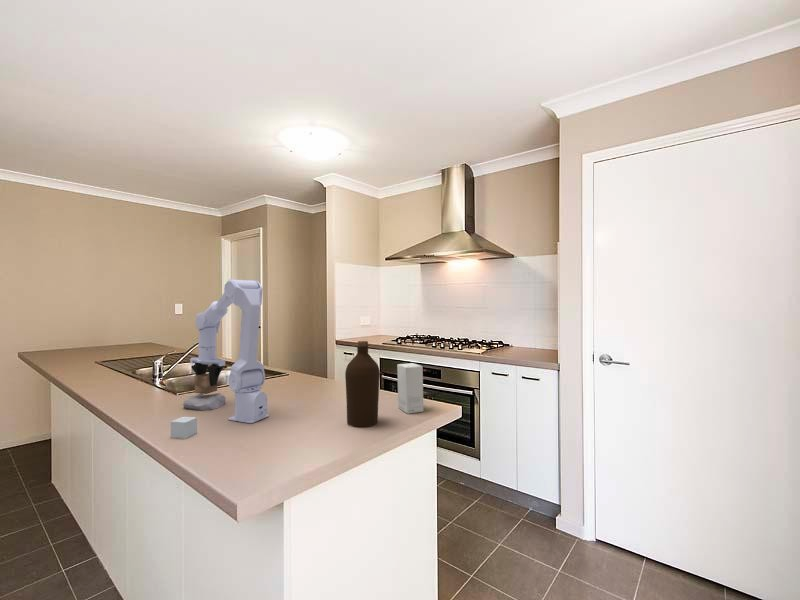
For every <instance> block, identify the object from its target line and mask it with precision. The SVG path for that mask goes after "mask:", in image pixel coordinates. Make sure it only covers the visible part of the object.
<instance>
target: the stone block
mask: <svg viewBox="0 0 800 600" xmlns="http://www.w3.org/2000/svg"><path fill="white" fill-rule="evenodd" d="M225 404H226V397H225V394H224V393H220V392H218V393H210V394H199V393H197V394H196V395H191V396H189V397H187V398H186V399H184V401H183V408H184V409H189V410H195V411H212V410H215V409H218V408H221V407H222V406H223V405H225Z"/></svg>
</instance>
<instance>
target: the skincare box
mask: <svg viewBox="0 0 800 600" xmlns="http://www.w3.org/2000/svg"><path fill="white" fill-rule="evenodd" d="M396 365H397V367H396V369H397V399H398V400H397V407H398V409H399V410H401V411H403V412H404V413H405V414H407V415H409V414H416V413H424V375H423V374H424V373H423V372H424V369H423V367H424V366H423V365H420V364H417V363H414V362H410V363H399V364H396Z"/></svg>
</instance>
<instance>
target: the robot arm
mask: <svg viewBox="0 0 800 600" xmlns="http://www.w3.org/2000/svg"><path fill="white" fill-rule="evenodd" d="M223 290H224V291H223V293H222V295H221V296H220V298H219V299H218V300H215V301H212V302H211V304H210V305H209V307H207V308H206V309H205V311H204V312H198V313H197V314H196V316H195V320H194V321H195V327H196V329H197V330H198V357H191V358H189V361H190V364H192V365H191V369H192V371H193V372H194V376H197V375H201V374H205V373H209V377H210V386H215V385H217V386H218V380H219V377H220V375H221V372H222V371H223V369H224V366H226V359H221V358H217V345H218V344H217V338H218V337H217V334H218V333H219V328H220V324H221V320H222V319H223V318H224V316H226V314H227V313H228V312H229V311H228V310H229V309H228V307H230V306H231V305H235V306H236V307H239V309H240V310H241V321H240V334H239V351H238V352H239V353H238V359H237V360H236V361H235V362H234V363H233V364H232V365H231V367H230V373H229V375H228V377H227V381H228V385H229V388H230V389H231V391H232V392H234V415H233V416H230V417H228V418H227V419H228V420H229V421H234V422H240V423H248V424H253V423H256V422H259V421H260V420H263V419H265V418H267V417H270V414H268V397H267V396H268V395H267V394H266V393H265V392H264V391H261V389H262V386H263V385H264V384H265V381H266V373H265V365H264V364H263V363H262V362H261V361H259V360H258V356H257V355H258V342H259V326H260V315H261V314H260V312H261V306H262V305H263V304H262V301H263V286H262V285H261V283H260V282H259V281H258V280H257V279H256V280H255V279H254V280H249V279H247V280H245V279H232V278H231V279H227V281H226V283H225V284H224V289H223Z"/></svg>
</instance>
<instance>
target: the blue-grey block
mask: <svg viewBox="0 0 800 600" xmlns="http://www.w3.org/2000/svg"><path fill="white" fill-rule="evenodd" d="M197 433H198V418H197V417H196V416H195V417H194V416H192V417H191V416H181V417H178V418H176V419H173V420H171V421H170V438H172V439H181V440H182V439H183V440H186V439H188V438H190V437H192V436H194V435H196V434H197Z"/></svg>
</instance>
